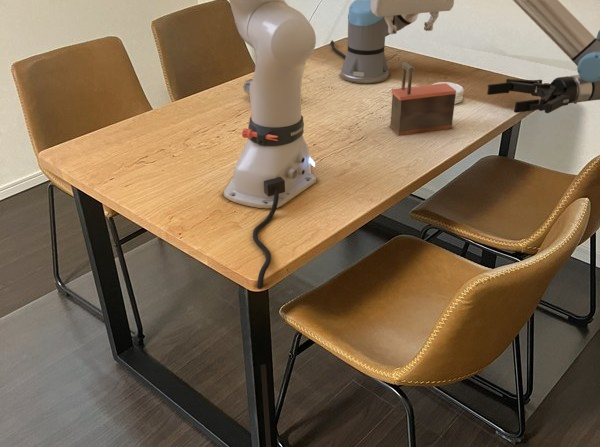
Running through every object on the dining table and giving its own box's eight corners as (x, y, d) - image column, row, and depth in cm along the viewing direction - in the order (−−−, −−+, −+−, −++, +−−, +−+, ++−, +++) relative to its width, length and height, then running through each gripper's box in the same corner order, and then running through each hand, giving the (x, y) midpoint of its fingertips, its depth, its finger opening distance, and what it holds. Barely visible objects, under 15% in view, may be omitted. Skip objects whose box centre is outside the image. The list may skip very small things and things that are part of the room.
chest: (398, 135, 162) (401, 100, 157) (390, 126, 167) (392, 92, 161) (451, 128, 165) (455, 94, 160) (441, 119, 170) (445, 86, 165)
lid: (399, 100, 157) (402, 69, 152) (391, 92, 161) (393, 61, 157) (455, 93, 160) (459, 63, 156) (445, 86, 165) (448, 56, 160)
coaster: (424, 93, 186) (425, 82, 184) (456, 91, 187) (457, 80, 185) (433, 106, 178) (434, 94, 176) (467, 104, 179) (468, 92, 177)
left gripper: (450, -34, 148) (443, 25, 156) (369, -29, 144) (366, 32, 151) (462, -29, 143) (455, 31, 150) (379, -23, 139) (376, 39, 146)
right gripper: (595, 119, 164) (525, 129, 159) (540, 87, 184) (476, 95, 180) (603, 92, 160) (530, 101, 155) (545, 63, 180) (480, 70, 175)
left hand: (410, 31), depth 151 cm, fingers open, 8 cm apart
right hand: (501, 98), depth 167 cm, fingers open, 13 cm apart
